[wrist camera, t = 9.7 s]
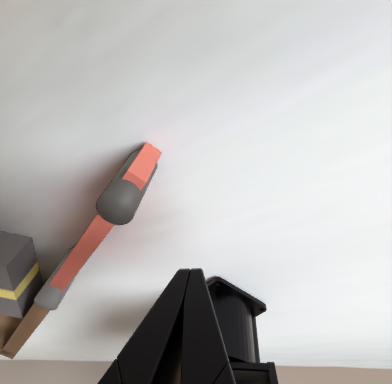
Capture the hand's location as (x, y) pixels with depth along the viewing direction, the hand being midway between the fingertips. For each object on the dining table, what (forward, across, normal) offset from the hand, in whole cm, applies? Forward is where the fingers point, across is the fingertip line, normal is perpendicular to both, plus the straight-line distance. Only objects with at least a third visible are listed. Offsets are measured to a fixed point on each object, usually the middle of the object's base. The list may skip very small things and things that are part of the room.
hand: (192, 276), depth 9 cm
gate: (+10, +9, +4) cm, 14 cm away
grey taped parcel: (+10, +22, +9) cm, 26 cm away
